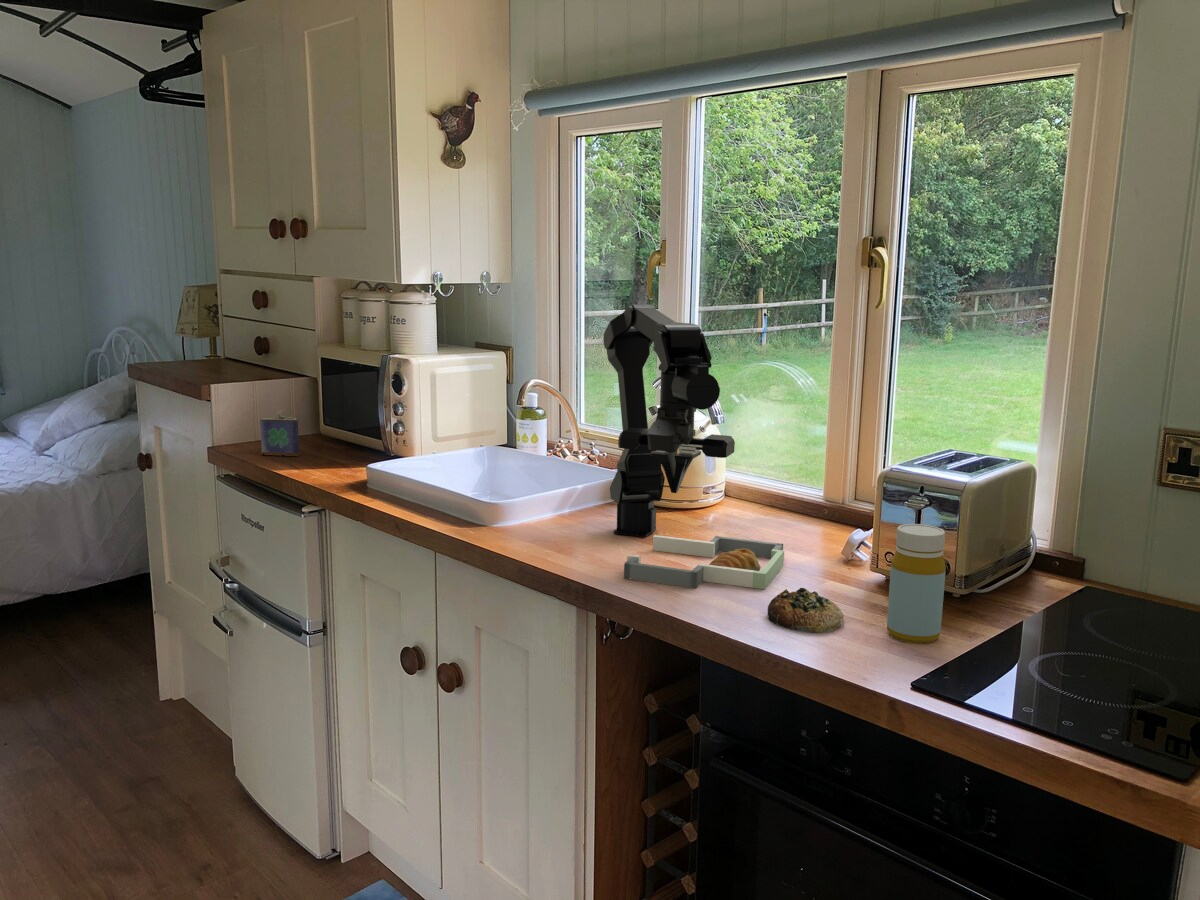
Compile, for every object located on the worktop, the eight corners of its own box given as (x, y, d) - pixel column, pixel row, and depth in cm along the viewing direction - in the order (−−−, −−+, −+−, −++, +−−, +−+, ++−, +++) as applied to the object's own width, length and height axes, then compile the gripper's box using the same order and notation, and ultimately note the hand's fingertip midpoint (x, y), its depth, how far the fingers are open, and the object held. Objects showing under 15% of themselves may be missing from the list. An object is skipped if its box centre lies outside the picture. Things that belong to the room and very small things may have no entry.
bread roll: (751, 611, 144) (757, 578, 143) (813, 611, 149) (820, 580, 148) (794, 641, 134) (801, 606, 133) (859, 640, 139) (866, 607, 138)
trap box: (618, 577, 159) (618, 562, 158) (661, 543, 179) (662, 529, 178) (759, 597, 150) (759, 581, 150) (788, 558, 170) (789, 544, 170)
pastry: (728, 586, 156) (729, 563, 155) (695, 576, 161) (695, 554, 160) (763, 573, 163) (764, 551, 162) (730, 565, 167) (731, 543, 167)
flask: (260, 456, 253) (257, 411, 251) (265, 453, 256) (263, 409, 254) (297, 457, 252) (295, 412, 250) (302, 455, 255) (300, 410, 253)
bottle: (878, 626, 139) (886, 523, 136) (927, 626, 139) (935, 522, 136) (897, 645, 132) (905, 537, 129) (948, 644, 132) (957, 536, 130)
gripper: (606, 402, 159) (605, 496, 162) (718, 411, 152) (714, 509, 155) (631, 394, 170) (629, 483, 173) (737, 402, 163) (733, 494, 166)
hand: (674, 492), depth 166 cm, fingers closed
